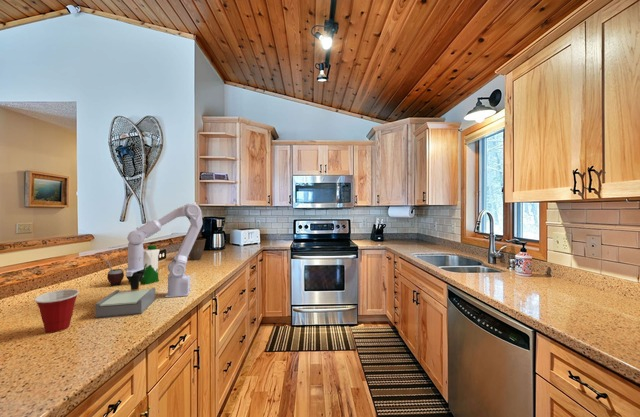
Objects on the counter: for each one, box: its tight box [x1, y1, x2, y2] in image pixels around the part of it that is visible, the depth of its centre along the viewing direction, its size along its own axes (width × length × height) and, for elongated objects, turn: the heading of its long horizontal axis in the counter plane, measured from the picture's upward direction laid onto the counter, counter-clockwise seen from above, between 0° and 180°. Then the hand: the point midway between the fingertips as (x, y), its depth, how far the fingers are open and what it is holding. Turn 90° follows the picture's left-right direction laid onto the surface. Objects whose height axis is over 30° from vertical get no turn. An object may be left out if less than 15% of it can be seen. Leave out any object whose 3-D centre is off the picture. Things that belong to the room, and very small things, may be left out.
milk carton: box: [140, 244, 161, 285], centre depth 146 cm, size 9×9×20 cm
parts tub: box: [94, 287, 156, 319], centre depth 108 cm, size 15×17×5 cm
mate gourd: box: [101, 258, 125, 288], centre depth 139 cm, size 8×8×15 cm
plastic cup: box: [34, 288, 80, 334], centre depth 89 cm, size 11×11×12 cm
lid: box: [100, 282, 151, 306], centre depth 108 cm, size 12×17×4 cm
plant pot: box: [188, 238, 207, 261], centre depth 210 cm, size 15×15×16 cm
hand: (135, 288), depth 116 cm, fingers closed on lid
